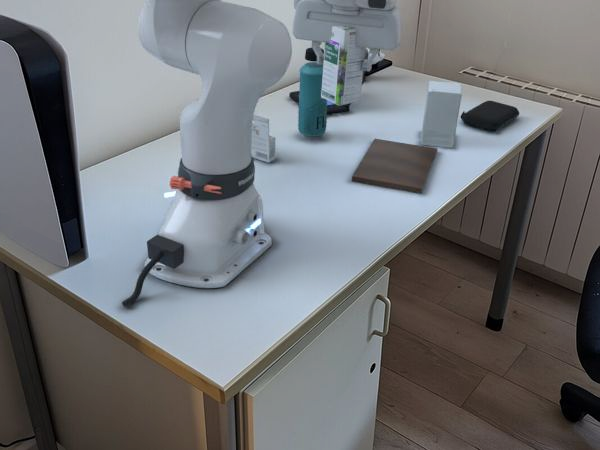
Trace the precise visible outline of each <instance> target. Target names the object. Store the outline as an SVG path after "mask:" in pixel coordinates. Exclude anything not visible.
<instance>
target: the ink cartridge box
mask: <svg viewBox="0 0 600 450" xmlns="http://www.w3.org/2000/svg"><path fill="white" fill-rule="evenodd" d="M251 156H252V157H253V159H256V160H259V161H262V162H265V163H269V164H270V163H271V162H274V161H275V160H276V137H275V136H273V135H270V119H269V118H266V117H262V116H259V115H255V114H254V115H253V121H252V145H251Z"/></svg>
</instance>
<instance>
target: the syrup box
mask: <svg viewBox="0 0 600 450" xmlns="http://www.w3.org/2000/svg"><path fill="white" fill-rule="evenodd" d="M355 37H356V30H355V28H354V27H344V26H333V27H332V33H331V40H330V42H329V43H326V42H324V49H323V50H324V64H323V78H322V91H321V98H323V99H326V100H328V101H330V102H332V103H334V104H336V105H338V106H341V105H345V104H349V103H351V104H353V103H356V102H360V101H361V95H362V87H363V85H362V77H363V70H362V67H363V66H362V62H363V61H364V57H365V49H366V47H358V46H355Z"/></svg>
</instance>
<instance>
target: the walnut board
mask: <svg viewBox="0 0 600 450" xmlns="http://www.w3.org/2000/svg"><path fill="white" fill-rule="evenodd" d="M438 148H439V147H433V146H426V145H418V144H412V143H405V142H400V141H394V140H388V139H381V138H374V139H373V140H372V142H371V144H370V146H369V147H368V148H367V150H366V152H365V153H364V156H363V158H362V159H361V161H360V162H359V164H358V165H357V167H356V169H355V171H354V172H353V173H352V176H351V182H354V183H359V184H365V185H369V186H377V187H381V188H386V189H393V190H398V191H405V192H409V193H416V194H419V195H420V194H423V191H424V189H425V186H426V183H427V181H428V178H429V175H430V172H431V170H432V168H433V165H434V163H435V159H436V157H437V155H438V150H439V149H438Z"/></svg>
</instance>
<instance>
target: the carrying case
mask: <svg viewBox="0 0 600 450" xmlns="http://www.w3.org/2000/svg"><path fill="white" fill-rule="evenodd" d="M519 115H520V111H519V109H518V108H517V107H515V106H513V105H509V104H506V103H502V102H498V101H495V100H486V101H484V102H481V103H480V104H478V105H476V106H475V107H473V108H471V109H470V110H468V111H466V112H465V111H464V110H463V111H462V112H461V114H460V119H461V121H462V122H463V124H464V125H465V126H468V127H471V128H476V129H479V130H482V131H484V132H489V133H495V132H497V131H499V130H500V129H502V128H504V127H505V126H506V125H508V124H510V123H511V122H513V121H514V120H515V119H517V118H518V117H519Z"/></svg>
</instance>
